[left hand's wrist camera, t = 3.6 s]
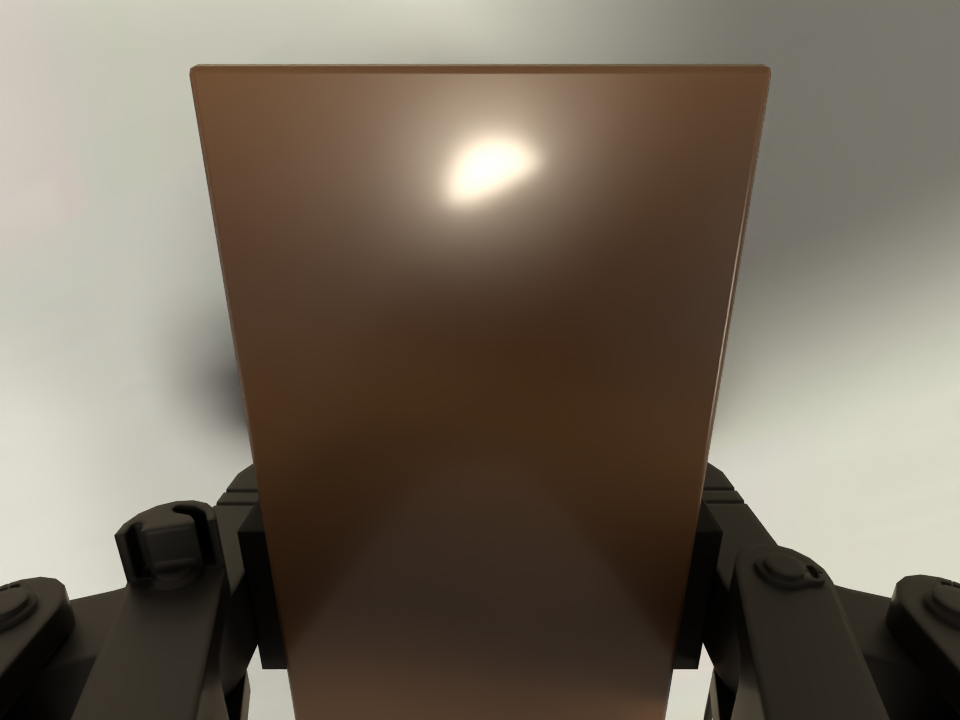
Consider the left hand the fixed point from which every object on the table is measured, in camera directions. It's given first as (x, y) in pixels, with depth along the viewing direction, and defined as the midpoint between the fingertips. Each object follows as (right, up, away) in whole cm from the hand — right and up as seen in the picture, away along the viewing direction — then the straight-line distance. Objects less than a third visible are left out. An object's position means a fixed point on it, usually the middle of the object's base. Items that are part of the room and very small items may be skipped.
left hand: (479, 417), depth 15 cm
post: (0, -31, +12) cm, 33 cm away
